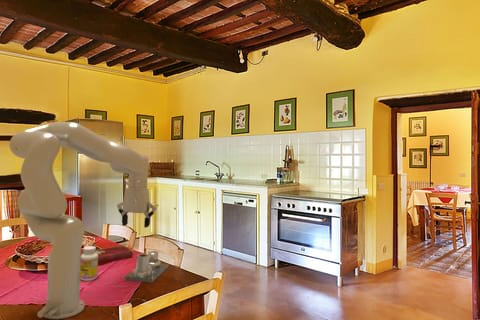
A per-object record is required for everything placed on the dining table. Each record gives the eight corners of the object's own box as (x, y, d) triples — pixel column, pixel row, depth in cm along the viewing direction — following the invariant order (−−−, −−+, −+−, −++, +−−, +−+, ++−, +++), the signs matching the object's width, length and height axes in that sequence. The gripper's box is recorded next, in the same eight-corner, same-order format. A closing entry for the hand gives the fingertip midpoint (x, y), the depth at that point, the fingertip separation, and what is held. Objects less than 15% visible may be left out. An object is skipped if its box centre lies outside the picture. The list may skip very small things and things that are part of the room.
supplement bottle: (76, 279, 138) (77, 248, 138) (90, 274, 144) (90, 244, 144) (87, 282, 135) (88, 250, 135) (100, 277, 141) (101, 247, 140)
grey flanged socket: (147, 278, 138) (147, 259, 137) (129, 276, 139) (130, 257, 138) (154, 272, 145) (155, 253, 145) (137, 270, 146) (138, 252, 146)
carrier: (152, 282, 137) (152, 264, 137) (124, 280, 139) (125, 262, 139) (168, 267, 156) (169, 251, 156) (143, 265, 158) (144, 249, 157)
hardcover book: (133, 258, 168) (133, 250, 168) (89, 267, 154) (90, 257, 154) (123, 252, 177) (123, 244, 177) (81, 260, 163) (81, 251, 163)
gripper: (113, 184, 138) (111, 225, 138) (153, 186, 135) (151, 229, 135) (123, 183, 145) (121, 222, 145) (161, 185, 142) (158, 226, 142)
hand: (135, 226), depth 140 cm, fingers open, 9 cm apart
